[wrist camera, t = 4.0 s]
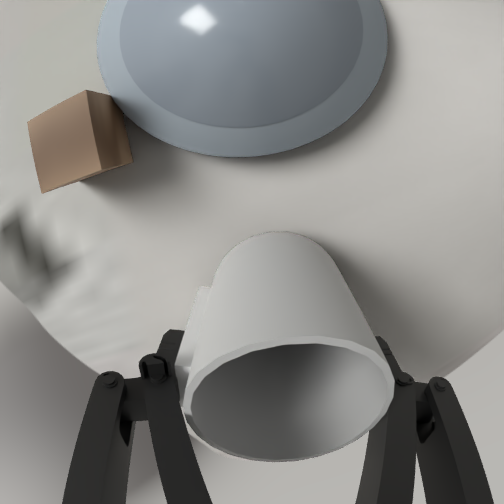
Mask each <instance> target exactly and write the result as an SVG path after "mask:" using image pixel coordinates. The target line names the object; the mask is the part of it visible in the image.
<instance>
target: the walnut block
mask: <svg viewBox="0 0 504 504" xmlns="http://www.w3.org/2000/svg"><path fill="white" fill-rule="evenodd" d="M27 123H28V130H29V136H30V142H31V147H32V152H33V157H34V162H35V167H36V171H37V176H38V180H39V184H40V188H41V192H42V194H43V193H45V192H48V191H51V190H54V189H57V188H60V187H63V186H66V185H69V184H72V183H75V182H78V181H81V180H83V179H86V178H89V177H92V176H94V175H97V174H100V173H103V172H105V171H108V170H111V169H114V168H117V167H120V166H123V165H126V164H129V163H132V162H133V158H132V154H131V150H130V145H129V141H128V136H127V132H126V127H125V122H124V117H123V112H122V110H121V109H120V108H119V106H118V105H117V104H116V103H115V101H114V100H113V98H112V96H110V95H106V94H102V93H97V92H93V91H89V90H85V91H83V92H81V93H79V94H77V95H75V96H73V97H71V98H69V99H67V100H65V101H63V102H61V103H59V104H57V105H56V106H54V107H52V108H50V109H48V110H47V111H45V112H43V113H42V114H40V115H38V116H37V117H35V118H33V119H32V120H30V121H28V122H27Z"/></svg>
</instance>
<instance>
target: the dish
mask: <svg viewBox="0 0 504 504" xmlns="http://www.w3.org/2000/svg"><path fill="white" fill-rule="evenodd" d="M387 43H388V34H387V25H386V19H385V15H384V12H383V8H382V5H381V3H380V1H379V0H108V1H107V3H106V5H105V8H104V10H103V13H102V16H101V20H100V24H99V28H98V36H97V58H98V63H99V67H100V72H101V75H102V78H103V80H104V83H105V86H106V88H107V89H108V91H109V93H110V95H111V96H112V98H113V100H114V101H115V103H116V104H117V105H118V106H119V108H120V109H121V110H122V111H123V113H124V114H125V115H126V116H128V117H129V118H130V119H131V120H132V121H133V122H134V123H135V124H136V125H137V126H139V127H140V128H142V129H143V130H145V131H146V132H148V133H149V134H151V135H152V136H154V137H156V138H158V139H160V140H162V141H164V142H166V143H168V144H170V145H173V146H176V147H179V148H182V149H185V150H187V151H192V152H196V153H201V154H205V155H213V156H222V157H253V156H261V155H270V154H274V153H278V152H283V151H287V150H291V149H294V148H297V147H299V146H302V145H305V144H308V143H310V142H312V141H314V140H316V139H318V138H320V137H322V136H324V135H326V134H328V133H330V132H331V131H333V130H334V129H336V128H337V127H338V126H340V125H341V124H343V123H344V122H345V121H347V120H348V119H349V118H350V117H351V116H352V115H353V114H354V113H355V112H357V111H358V109H359V108H360V107H361V106H362V105H363V103H364V102H365V101H366V100H367V99H368V97H369V96H370V94H371V93H372V91H373V89H374V88H375V86H376V84H377V83H378V80H379V78H380V75H381V73H382V70H383V68H384V63H385V59H386V54H387Z"/></svg>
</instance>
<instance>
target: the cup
mask: <svg viewBox="0 0 504 504" xmlns="http://www.w3.org/2000/svg"><path fill="white" fill-rule="evenodd" d="M394 383H395V380H394V377H393V375H392V372H391V370H390V367H389V364H388V362H387V360H386V358H385V356H384V354H383V352H382V350H381V348H380V346H379V344H378V342H377V340H376V338H375V336H374V334H373V332H372V330H371V328H370V327H369V325H368V323H367V321H366V319H365V317H364V315H363V313H362V311H361V309H360V307H359V306H358V304H357V302H356V300H355V298H354V296H353V294H352V293H351V291H350V289H349V287H348V285H347V283H346V282H345V280H344V278H343V276H342V275H341V273H340V271H339V269H338V267H337V266H336V264H335V262H334V260H333V259H332V258H331V257H330V255H329V254H328V253H327V252H326V251H325V250H324V249H323V248H322V247H321V246H320V245H319V244H317V243H316V242H314V241H312V240H310V239H309V238H307V237H305V236H302V235H298V234H294V233H291V232H267V233H263V234H259V235H255V236H251V237H250V238H248V239H246V240H244V241H243V242H241V243H239V244H237V245H236V246H235V247H234V248H233V249H232V250H231V251H230V252H229V253H228V254H227V255H226V256H224V258H223V260H222V262H221V263H220V265H219V267H218V269H217V271H216V273H215V275H214V278H213V282H212V286H211V290H210V293H209V297H208V301H207V305H206V309H205V313H204V316H203V320H202V324H201V328H200V332H199V336H198V340H197V344H196V348H195V352H194V356H193V360H192V364H191V368H190V372H189V377H188V381H187V385H186V389H185V395H184V401H183V410H184V414H185V417H186V420H187V423H188V424H189V425H190V427H191V428H192V429H193V431H194V432H195V433H196V434H197V436H199V437H200V438H201V439H203V440H204V441H205V442H207V443H208V444H209V445H211V446H212V447H214V448H216V449H219V450H221V451H223V452H225V453H228V454H230V455H233V456H237V457H241V458H245V459H249V460H256V461H266V462H287V461H298V460H304V459H309V458H314V457H318V456H321V455H324V454H327V453H330V452H333V451H336V450H338V449H341V448H343V447H344V446H346V445H348V444H350V443H352V442H354V441H356V440H358V439H359V438H360V437H362V436H363V435H364V434H365V433H367V432H368V431H369V430H371V429H372V428H373V427H374V426H375V425H376V424H377V423H378V422H379V420H380V419H381V418H382V417H383V416H384V414H385V413H386V412H387V409H388V407H389V405H390V403H391V401H392V399H393V395H394Z"/></svg>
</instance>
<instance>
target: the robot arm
mask: <svg viewBox="0 0 504 504" xmlns="http://www.w3.org/2000/svg"><path fill="white" fill-rule="evenodd" d="M210 290H211V287H207V286H199V289H198V292H197V295H196V298H195V301H194V304H193V307H192V310H191V313H190V317H189V320H188V323H187V326H186V329H185V331H181V330H172V329H170V330H169V331H167V332H166V333H165V334H164V335H163V338H162V340H161V343H160V345H159V349H158V351H157V353H156V354H155V353H153V354H149V355H146V356H144V357H143V358H142V359H141V360H140V361H139V369H140V373H141V377H138V378H131V379H124V378H123V376H122V375H121V374H119V373H118V372H114V371H108V372H104V373H102V374H101V375H99V376H98V377H97V379H96V381H95V384H94V387H93V389H92V393H91V396H90V398H89V401H88V405H87V408H86V411H85V415H84V418H83V421H82V424H81V428H80V431H79V435H78V438H77V442H76V445H75V449H74V453H73V457H72V461H71V465H70V469H69V474H68V478H67V483H66V488H65V492H64V497H63V502H62V504H126V493H127V482H128V473H129V465H130V457H131V451H132V444H133V437H134V430H135V424H136V421H143V420H148V421H149V427H150V432H151V437H152V442H153V447H154V452H155V456H156V461H157V466H158V469H159V474H160V478H161V482H162V486H163V490H164V493H165V497H166V500H167V504H212V501H211V499H210V496H209V493H208V491H207V488H206V485H205V483H204V480H203V477H202V475H201V472H200V468H199V466H198V463H197V460H196V457H195V454H194V450H193V447H192V444H191V441H190V438H189V434H188V431H187V428H186V424H185V421H184V417H183V414H182V410H181V407H183V401H184V395H185V389H186V385H187V381H188V377H189V372H190V368H191V364H192V360H193V356H194V352H195V348H196V344H197V340H198V336H199V332H200V328H201V324H202V320H203V316H204V313H205V309H206V305H207V301H208V297H209V293H210ZM375 338H376V340H377V342H378V344H379V346H380V348H381V350H382V352H383V354H384V356H385V358H386V360H387V362H388V364H389V367H390V370H391V372H392V375H393V377H394V380H395V383H394V395H393V399H392V401H391V403H390V405H389V407H388V409H387V412H386V413H385V414H384V416H383V417H382V418H381V419H380V420H379V422H378V423H377V424H376V425H375V426H374V427H373V428H372V429H371V430H369V437H368V443H367V449H366V455H365V461H364V466H363V472H362V476H361V481H360V486H359V491H358V495H357V499H356V503H355V504H412V501H413V491H414V490H413V489H414V479H415V464H416V453H417V458H418V462H419V467H420V472H421V476H422V481H423V487H424V492H425V497H426V503H427V504H494V502H493V499H492V495H491V491H490V488H489V484H488V481H487V477H486V474H485V471H484V468H483V465H482V462H481V459H480V456H479V453H478V450H477V447H476V444H475V442H474V439H473V436H472V434H471V431H470V428H469V426H468V423H467V421H466V418H465V416H464V414H463V411H462V409H461V406H460V404H459V402H458V399H457V397H456V395H455V393H454V390H453V388H452V386H451V384H450V383H449V381H447V380H446V379H444V378H442V377H433V378H432V379H430V381H429V383H428V384H427V383H419V382H414V379H413V378H412V377H411V376H410V375H409V374H407V373H404V372H402V371H401V369H400V367H399V365H398V363H397V361H396V359H395V358H394V356H393V355H392V352H391V350H390V348H389V346H388V345H387V343H386V342H385V341H384V340H383V339H382V338H381V337H380V336H378V337H375ZM179 401H180V403H179ZM180 406H181V407H180Z"/></svg>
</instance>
